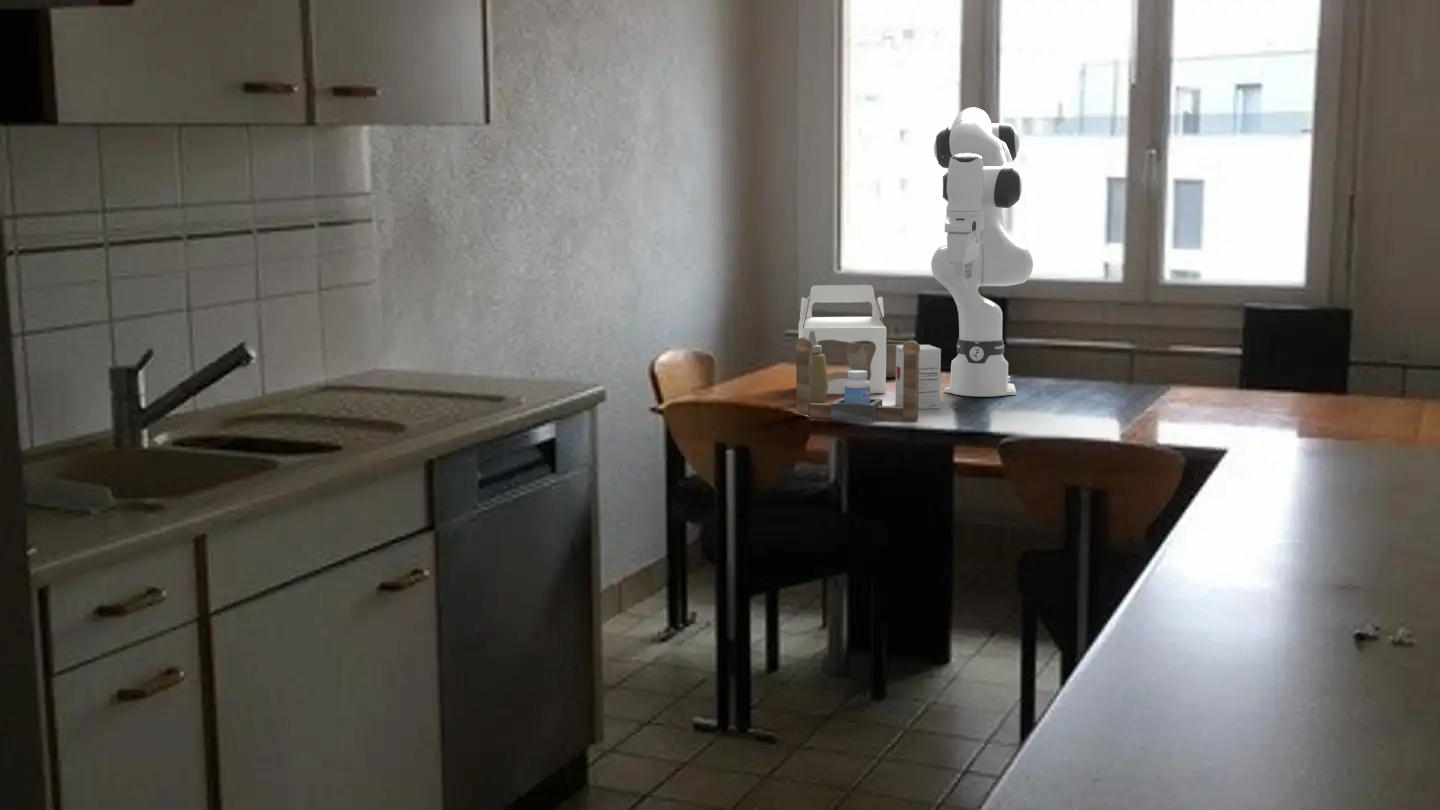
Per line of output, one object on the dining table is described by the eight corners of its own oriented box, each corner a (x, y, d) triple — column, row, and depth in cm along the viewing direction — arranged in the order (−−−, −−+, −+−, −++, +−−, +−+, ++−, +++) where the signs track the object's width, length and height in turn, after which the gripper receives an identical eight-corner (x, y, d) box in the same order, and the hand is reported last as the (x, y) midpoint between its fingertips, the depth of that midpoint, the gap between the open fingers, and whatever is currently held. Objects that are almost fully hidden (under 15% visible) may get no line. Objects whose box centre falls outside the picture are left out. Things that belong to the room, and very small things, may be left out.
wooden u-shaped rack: (801, 412, 413) (801, 334, 411) (923, 417, 404) (924, 338, 401) (790, 418, 404) (790, 339, 401) (914, 424, 395) (915, 342, 392)
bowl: (877, 371, 489) (877, 336, 487) (922, 377, 475) (922, 341, 473) (833, 376, 478) (833, 341, 476) (878, 383, 464) (878, 346, 463)
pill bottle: (868, 420, 401) (869, 373, 399) (842, 419, 402) (843, 372, 400) (871, 416, 407) (871, 369, 405) (846, 415, 408) (846, 369, 406)
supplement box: (894, 404, 425) (894, 345, 423) (928, 403, 427) (929, 344, 425) (906, 410, 416) (906, 349, 414) (940, 408, 418) (941, 348, 416)
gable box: (880, 386, 457) (880, 282, 453) (886, 393, 444) (887, 286, 440) (797, 387, 456) (797, 283, 452) (801, 394, 443) (801, 287, 439)
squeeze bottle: (831, 400, 433) (832, 330, 430) (823, 404, 425) (823, 333, 422) (801, 399, 435) (801, 329, 432) (792, 403, 428) (792, 332, 425)
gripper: (960, 219, 413) (959, 276, 416) (943, 225, 394) (942, 284, 397) (986, 220, 411) (985, 277, 414) (970, 225, 392) (969, 285, 395)
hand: (964, 281), depth 405 cm, fingers open, 8 cm apart
